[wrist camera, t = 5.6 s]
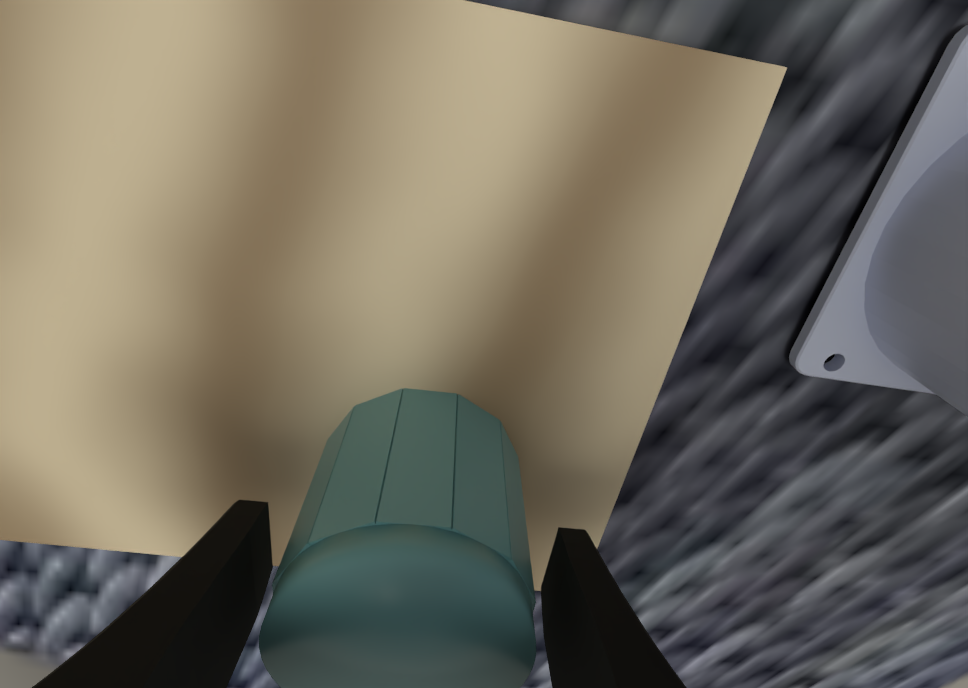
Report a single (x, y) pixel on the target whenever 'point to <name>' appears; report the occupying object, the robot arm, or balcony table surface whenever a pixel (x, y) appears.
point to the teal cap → (407, 555)
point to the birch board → (339, 247)
